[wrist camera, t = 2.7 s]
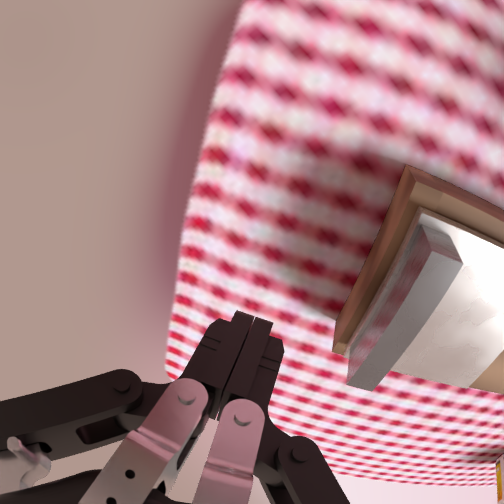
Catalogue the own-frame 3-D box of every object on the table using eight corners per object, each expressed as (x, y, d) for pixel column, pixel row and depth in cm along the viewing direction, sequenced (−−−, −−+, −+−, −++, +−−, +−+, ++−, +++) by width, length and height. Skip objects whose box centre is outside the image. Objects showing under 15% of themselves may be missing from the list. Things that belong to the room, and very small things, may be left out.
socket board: (406, 164, 15) (416, 181, 13) (597, 271, 13) (614, 293, 10) (335, 321, 22) (331, 351, 20) (521, 373, 20) (528, 398, 17)
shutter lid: (418, 205, 13) (433, 238, 11) (550, 269, 12) (573, 304, 9) (344, 347, 19) (339, 388, 16) (465, 379, 18) (471, 416, 15)
